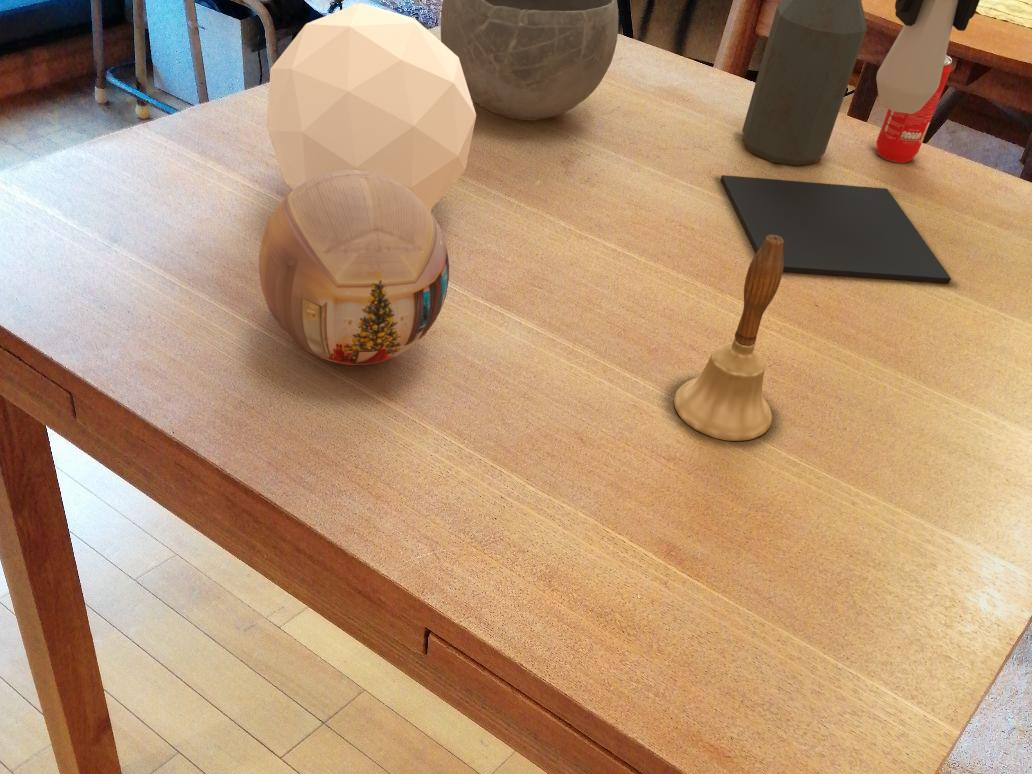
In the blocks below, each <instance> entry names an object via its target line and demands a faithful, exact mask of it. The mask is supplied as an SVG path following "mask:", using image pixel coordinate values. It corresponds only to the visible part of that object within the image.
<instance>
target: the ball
mask: <svg viewBox="0 0 1032 774" xmlns="http://www.w3.org/2000/svg"><path fill="white" fill-rule="evenodd" d="M269 70H270V71H269V87H268V98H267V99H268V102H267V103H268V104H267V116H266V128H267V131H268V134H269V137H270V140H271V144H272V147H273V150H274V153H275V156H276V160H277V162H278V165H279V169H280V172H281V174H282V177H283V181H284V183H285V184H286V185H287V186H288V187H289V188H290V189H292V191H293V190H294V189H295V188H297V187H298V186H300V185H301V184H303V183H305V182H306V181H308V180H310V179H312V178H314V177H317V176H320V175H322V174H325V173H329V172H333V171H340V170H362V171H368V172H373V173H377V174H381V175H384V176H386V177H389V178H391V179H393V180H395V181H396V182H398V183H400V184H402V185H403V186H405V187H406V188H408V189H409V190H410V191H411V192H413V193H414V194H415V195H416V196H417V197H419V199H420V200H421V201H422V202H423V203H424V204H425V205H426V207H427V208H428V209H429V210H430V211H431V210H432V209H433V208H434V207H435V206H436V204H437V203H439V201H440V200H441V199H442V197H443V196H444V195H445V194H446V193H447V192H448V190H450V189H451V187H452V186H453V185H454V184H455V183H456V182H457V180H458V179H459V178H460V177H461V176H462V174H463V173H464V172H465V171H466V168H467V165H468V159H469V153H470V148H471V144H472V139H473V134H474V128H475V123H476V119H477V113H476V110H475V107H474V103H473V100H472V99H471V97H470V93H469V90H468V87H467V83H466V80H465V77H464V74H463V70H462V67H461V64H460V60H459V57H458V56H456V55H455V54H454V53H453V52H452V51H451V50H450V49H449V48H447V47H446V46H445V45H444V44H443V43H442V42H441V40H439V38H437V37H436V36H435V35H434V34H433V33H431V31H429V30H428V29H427V27H425V26H424V25H423V24H422V23H420V21H418V20H417V19H416V18H415V17H411V16H408V15H404V14H401V13H397V12H394V11H390V10H387V9H383V8H380V7H377V6H373V5H370V4H366V3H362V2H357V3H355V4H352V5H350V6H347V7H345V8H341V9H340V10H337V11H335V12H332V13H330V14H327V15H324V16H322V17H319V18H317V19H313V20H312V21H310V22H306V23H305V24H304V25H303V27H302V28H301V30H300V31H298V33H297V34H296V36H295V37H294V38H293V40H292V41H291V42H290V43H289V45H288V46H287V47H286V48H285V49H284V50H283V52H282V53H281V55H280V56H279V57H278V59H277V60H276V61H275V62H274V64H273V65H272V66H271V67H270V69H269Z"/></svg>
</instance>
